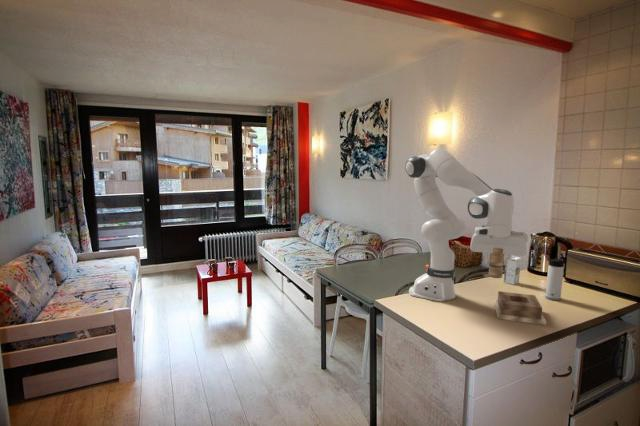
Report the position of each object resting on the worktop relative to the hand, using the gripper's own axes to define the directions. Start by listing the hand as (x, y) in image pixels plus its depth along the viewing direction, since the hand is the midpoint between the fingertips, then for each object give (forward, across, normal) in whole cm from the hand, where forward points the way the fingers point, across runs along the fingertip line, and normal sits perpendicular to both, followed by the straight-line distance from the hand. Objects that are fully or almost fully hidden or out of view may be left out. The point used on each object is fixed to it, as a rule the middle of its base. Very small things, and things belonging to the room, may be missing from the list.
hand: (496, 264), depth 148 cm
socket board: (+26, -12, -16) cm, 33 cm away
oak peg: (+5, 0, 0) cm, 5 cm away
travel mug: (+26, -31, -41) cm, 58 cm away
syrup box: (+26, -15, -59) cm, 66 cm away
